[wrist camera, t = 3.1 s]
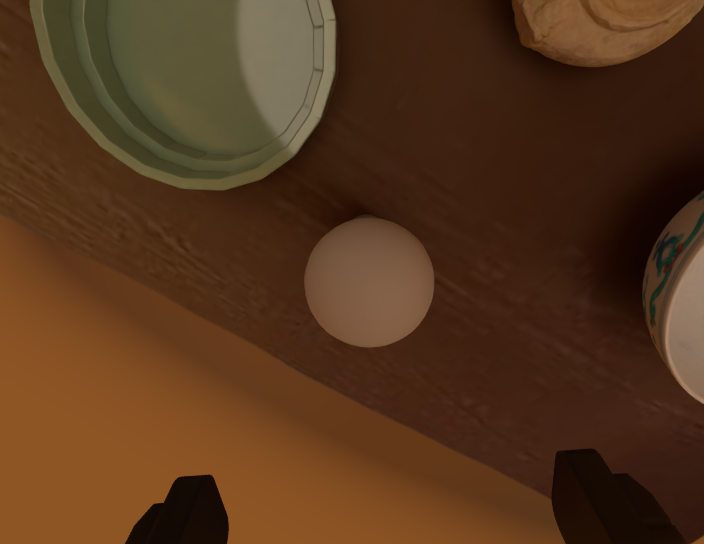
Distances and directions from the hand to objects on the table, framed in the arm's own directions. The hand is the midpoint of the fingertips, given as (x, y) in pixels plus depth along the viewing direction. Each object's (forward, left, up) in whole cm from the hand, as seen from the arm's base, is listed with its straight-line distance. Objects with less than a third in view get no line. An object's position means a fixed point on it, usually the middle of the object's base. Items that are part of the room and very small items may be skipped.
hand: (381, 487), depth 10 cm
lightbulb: (0, 0, -19) cm, 19 cm away
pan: (-13, +3, -19) cm, 23 cm away
